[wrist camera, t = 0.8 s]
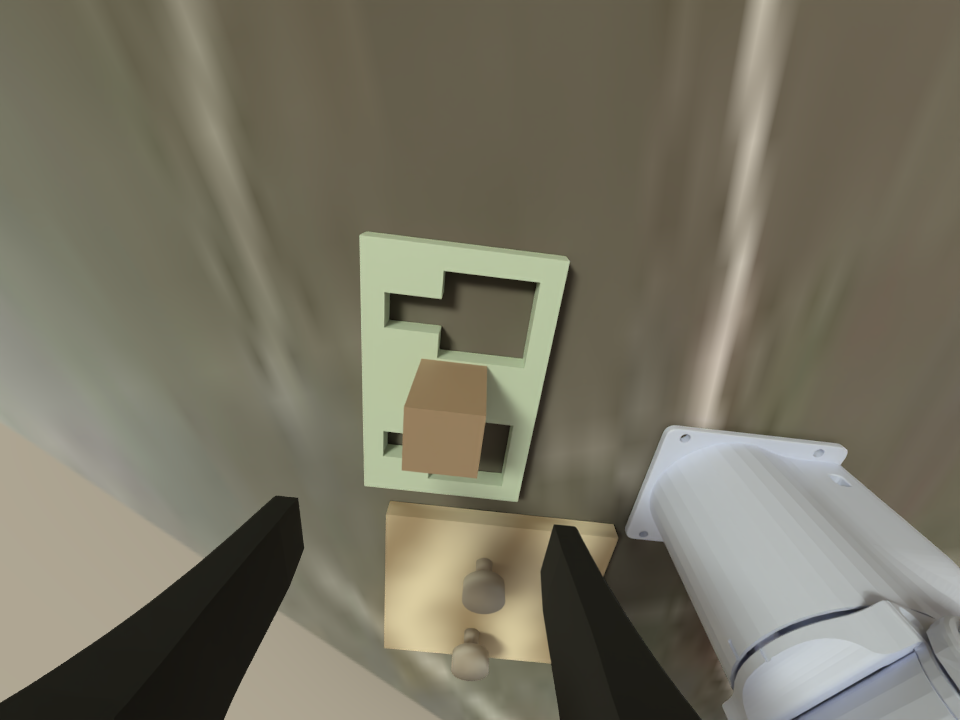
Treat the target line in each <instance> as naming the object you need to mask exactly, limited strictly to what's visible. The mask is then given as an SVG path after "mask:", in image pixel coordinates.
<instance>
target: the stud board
mask: <svg viewBox="0 0 960 720" xmlns="http://www.w3.org/2000/svg"><path fill="white" fill-rule="evenodd" d="M554 524H557V525H567V526H575V527H576V528H577V529H578V531H579V533H580V535H581V537H582V539H583V541H584V543H585V545H586V546H587V548H588V550H589V552H590V554H591V556H592V558H593V559H594V561H595V563H596V565H597V567H598V568H599V570H600V572H601V574H602V576H604V573H605V571H606V568H607V566H608V563H609V561H610V558H611V556H612V553H613V551H614V548H615V546H616V543H617V541H618V536H617V533H616V530H615V527H614V524H607V523H597V522H587V521H578V520H568V519H559V518H549V517H540V516H530V515H520V514H511V513H501V512H492V511H482V510H472V509H463V508H453V507H444V506H434V505H424V504H415V503H405V502H396V501H390V503H389V507H388V510H387V513H386V559H385V630H384V648H391V649H401V650H412V651H423V652H434V653H445V654H452V666H451V672H452V674H453V675H454V676H455V677H457V678H459V679H462V680H466V681H476V680H480V679H483V678H485V677H486V676H487V675H488V673H489V658H498V659H509V660H520V661H531V662H541V663H551V660H550V653H549V647H548V641H547V635H546V629H545V622H544V616H543V607H542V592H541V573H540V571H541V568H542V564H543V560H544V557H545V553H546V550H547V546H548V543H549V539H550V536H551V532H552V529H553V525H554Z"/></svg>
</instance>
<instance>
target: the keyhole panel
mask: <svg viewBox="0 0 960 720" xmlns="http://www.w3.org/2000/svg"><path fill="white" fill-rule="evenodd" d="M569 263H570V261H569V260H568V258H567V257H566V256H560V255H552V254H544V253H536V252H528V251H520V250H512V249H504V248H496V247H488V246H480V245H472V244H464V243H456V242H447V241H439V240H431V239H423V238H415V237H407V236H399V235H391V234H383V233H375V232H365V233H363V234H361V235H360V284H361V336H362V387H363V439H364V486H371V487H380V488H390V489H399V490H409V491H418V492H428V493H437V494H447V495H457V496H466V497H476V498H485V499H495V500H504V501H514V502H518V497H519V493H520V488H521V484H522V479H523V474H524V470H525V465H526V461H527V456H528V452H529V447H530V442H531V438H532V433H533V429H534V424H535V419H536V415H537V410H538V406H539V401H540V396H541V392H542V387H543V383H544V378H545V373H546V369H547V364H548V360H549V355H550V350H551V346H552V341H553V337H554V332H555V328H556V323H557V318H558V314H559V309H560V305H561V300H562V295H563V291H564V286H565V282H566V277H567V272H568V268H569ZM446 271H449V272H457V273H466V274H474V275H482V276H490V277H498V278H507V279H515V280H523V281H531V282H537V284H536V290H535V295H534V301H533V306H532V311H531V317H530V322H529V328H528V333H527V339H526V344H525V349H524V355H523V359H520V358H511V357H503V356H494V355H486V354H477V353H468V352H460V351H451V350H443V349H440V337H441V326H439V325H431V324H422V323H414V322H406V321H397V320H390V293H395V294H404V295H412V296H420V297H429V298H437V299H442V296H443V294H444V286H445V273H446ZM485 423H494V424H503V425H510V431H509V436H508V441H507V447H506V452H505V458H504V463H503V468H502V473H494V472H484V471H478V468H479V461H480V455H481V448H482V441H483V435H484V428H485ZM388 432H395V433H403V445H393V444H388Z"/></svg>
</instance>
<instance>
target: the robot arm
mask: <svg viewBox="0 0 960 720" xmlns="http://www.w3.org/2000/svg"><path fill="white" fill-rule="evenodd" d="M684 434H687V435H686V436H685V437H683V438H680V437H681V436H682V435H684ZM846 456H847V449H846V448H844V447H843V446H842V445H841V444H838V443H829V442H820V441H811V440H802V439H793V438H785V437H776V436H767V435H758V434H749V433H740V432H731V431H722V430H713V429H705V428H696V427H687V426H678V425H672V426H669V427H667V428H666V429H665V430H664V432H663V434H662V437H661V439H660V442H659V444H658V447H657V449H656V452H655V454H654V457H653V459H652V462H651V464H650V467H649V469H648V472H647V474H646V477H645V479H644V482H643V484H642V487H641V489H640V491H639V494H638V496H637V499H636V501H635V504H634V506H633V509H632V511H631V514H630V516H629V519H628V521H627V524H626V526H625V532H626V534H627V536H628V537H629V538H633V539H642V540H651V541H661V542H664V543H665V546H666V548H667V550H668V552H669V554H670V556H671V558H672V561H673V563H674V565H675V567H676V569H677V571H678V573H679V576H680V578H681V580H682V582H683V584H684V586H685V589H686V591H687V593H688V595H689V597H690V599H691V601H692V604H693V606H694V608H695V610H696V612H697V614H698V617H699V619H700V621H701V623H702V625H703V627H704V629H705V632H706V634H707V636H708V638H709V640H710V642H711V645H712V647H713V649H714V651H715V653H716V655H717V657H718V660H719V662H720V664H721V666H722V668H723V670H724V672H725V675H726V677H727V679H728V681H729V683H730V685H731V688H732V689H733V694H732V696H731V697H730V698H729V699H728V700H727V701H726V702H724V703H723V704H722V707H723V710H724V712H725V714H726V717H727V719H728V720H960V568H959V567H958V566H957V565H956V564H955V563H954V562H953V561H952V560H951V559H950V558H949V557H948V556H947V555H946V554H944V553H943V552H942V551H941V550H940V549H939V548H937V547H936V546H935V545H934V544H933V543H931V542H930V541H929V540H928V539H927V538H926V537H924V536H923V535H922V534H921V533H920V532H918V531H917V530H916V529H915V528H914V527H913V526H911V525H910V524H909V523H908V522H907V521H906V520H904V519H903V518H902V517H901V516H900V515H898V514H897V513H896V512H895V511H894V510H893V509H891V508H890V507H889V506H888V505H887V504H885V503H884V502H883V501H882V500H881V499H880V498H878V497H877V496H876V495H875V494H874V493H872V492H871V491H870V490H869V489H868V488H867V487H865V486H864V485H863V484H862V483H861V482H859V481H858V480H857V479H856V478H855V477H854V476H852V475H851V474H850V473H849V472H848V471H846V470H845V469H844V468H843V467H842V466H841V463H842V462H843V460H844V459H845V457H846ZM303 550H304V543H303V535H302V527H301V519H300V511H299V502H298V498H294V497H284V496H275V497H273V498H272V499H271V500H270V501H269V502H268V503H266V504H265V505H264V506H263V507H262V508H261V509H260V510H259V511H258V512H257V513H255V514H254V515H253V516H252V517H251V518H250V519H249V520H248V521H247V522H245V523H244V524H243V525H242V526H241V527H240V528H239V529H238V530H236V531H235V532H234V533H233V534H232V535H231V536H230V537H229V538H227V539H226V540H225V541H224V542H223V543H222V544H220V545H219V546H218V547H217V548H216V549H215V550H213V551H212V552H211V553H210V554H209V555H208V556H206V557H205V558H204V559H203V560H202V561H201V562H199V563H198V564H197V565H196V566H195V567H193V568H192V569H191V570H190V571H188V572H187V573H186V574H185V575H184V576H182V577H181V578H180V579H179V580H177V581H176V582H175V583H173V584H172V585H171V586H170V587H168V588H167V589H166V590H165V591H163V592H162V593H161V594H160V595H158V596H157V597H156V598H154V599H153V600H152V601H151V602H150V603H148V604H147V605H145V606H144V607H143V608H141V609H140V610H139V611H137V612H136V613H135V614H133V615H132V616H130V617H129V618H128V619H126V620H125V621H124V622H122V623H121V624H119V625H118V626H117V627H115V628H114V629H112V630H111V631H110V632H108V633H107V634H106V635H104V636H103V637H101V638H100V639H98V640H97V641H95V642H94V643H93V644H91V645H89V646H88V647H87V648H85V649H83V650H82V651H80V652H79V653H77V654H76V655H75V656H73V657H72V658H70V659H69V660H67V661H66V662H64V663H63V664H61V665H60V666H58V667H57V668H55V669H54V670H52V671H50V672H49V673H47V674H46V675H44V676H43V677H41V678H40V679H38V680H37V681H35V682H33V683H32V684H30V685H29V686H27V687H25V688H24V689H22V690H20V691H19V692H18V693H16V694H14V695H12V696H11V697H9V698H7V699H6V700H4V701H2V702H1V703H0V720H224V718H225V716H226V713H227V711H228V708H229V706H230V704H231V702H232V700H233V697H234V695H235V693H236V691H237V689H238V687H239V685H240V683H241V681H242V679H243V677H244V675H245V673H246V671H247V668H248V667H249V665H250V663H251V661H252V659H253V657H254V655H255V653H256V651H257V649H258V647H259V645H260V643H261V642H262V640H263V638H264V635H265V634H266V632H267V630H268V628H269V626H270V624H271V622H272V620H273V618H274V616H275V614H276V612H277V610H278V608H279V606H280V604H281V602H282V600H283V598H284V596H285V594H286V592H287V590H288V588H289V586H290V584H291V581H292V579H293V576H294V574H295V571H296V568H297V566H298V563H299V560H300V558H301V555H302V552H303ZM540 573H541V592H542V607H543V616H544V622H545V629H546V635H547V641H548V647H549V653H550V660H551V666H552V672H553V678H554V684H555V690H556V696H557V702H558V709H559V716H560V720H702V719H701V718H700V717H699V716H698V714H697V713H696V712H695V711H694V709H693V708H692V707H691V705H690V704H689V703H688V702H687V700H686V699H685V698H684V696H683V695H682V694H681V693H680V691H679V690H678V689H677V687H676V686H675V685H674V683H673V682H672V681H671V679H670V678H669V677H668V675H667V674H666V673H665V671H664V670H663V668H662V667H661V666H660V664H659V663H658V661H657V660H656V659H655V657H654V656H653V654H652V653H651V651H650V650H649V649H648V647H647V646H646V644H645V643H644V641H643V640H642V638H641V637H640V635H639V634H638V632H637V631H636V629H635V628H634V626H633V625H632V623H631V622H630V620H629V618H628V617H627V615H626V614H625V612H624V611H623V609H622V607H621V606H620V604H619V602H618V601H617V599H616V597H615V596H614V594H613V592H612V591H611V589H610V588H609V586H608V584H607V582H606V581H605V579H604V577H603V576H602V574H601V572H600V570H599V568H598V567H597V565H596V563H595V561H594V559H593V558H592V556H591V554H590V552H589V550H588V548H587V546H586V545H585V543H584V541H583V539H582V537H581V535H580V533H579V531H578V529H577V528H576V527H575V526H567V525H557V524H554V525H553V529H552V532H551V536H550V539H549V543H548V546H547V550H546V553H545V557H544V560H543V564H542V568H541V571H540Z"/></svg>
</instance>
